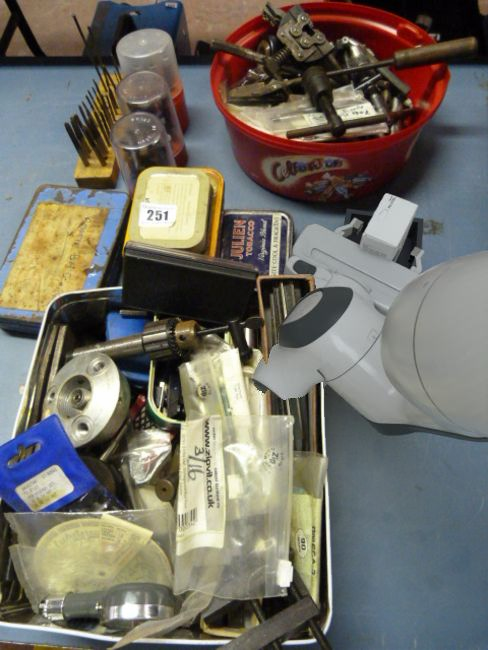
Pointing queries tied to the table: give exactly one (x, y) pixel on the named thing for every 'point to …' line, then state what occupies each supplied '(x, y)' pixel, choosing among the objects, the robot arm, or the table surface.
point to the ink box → (388, 227)
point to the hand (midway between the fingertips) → (388, 236)
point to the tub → (410, 243)
